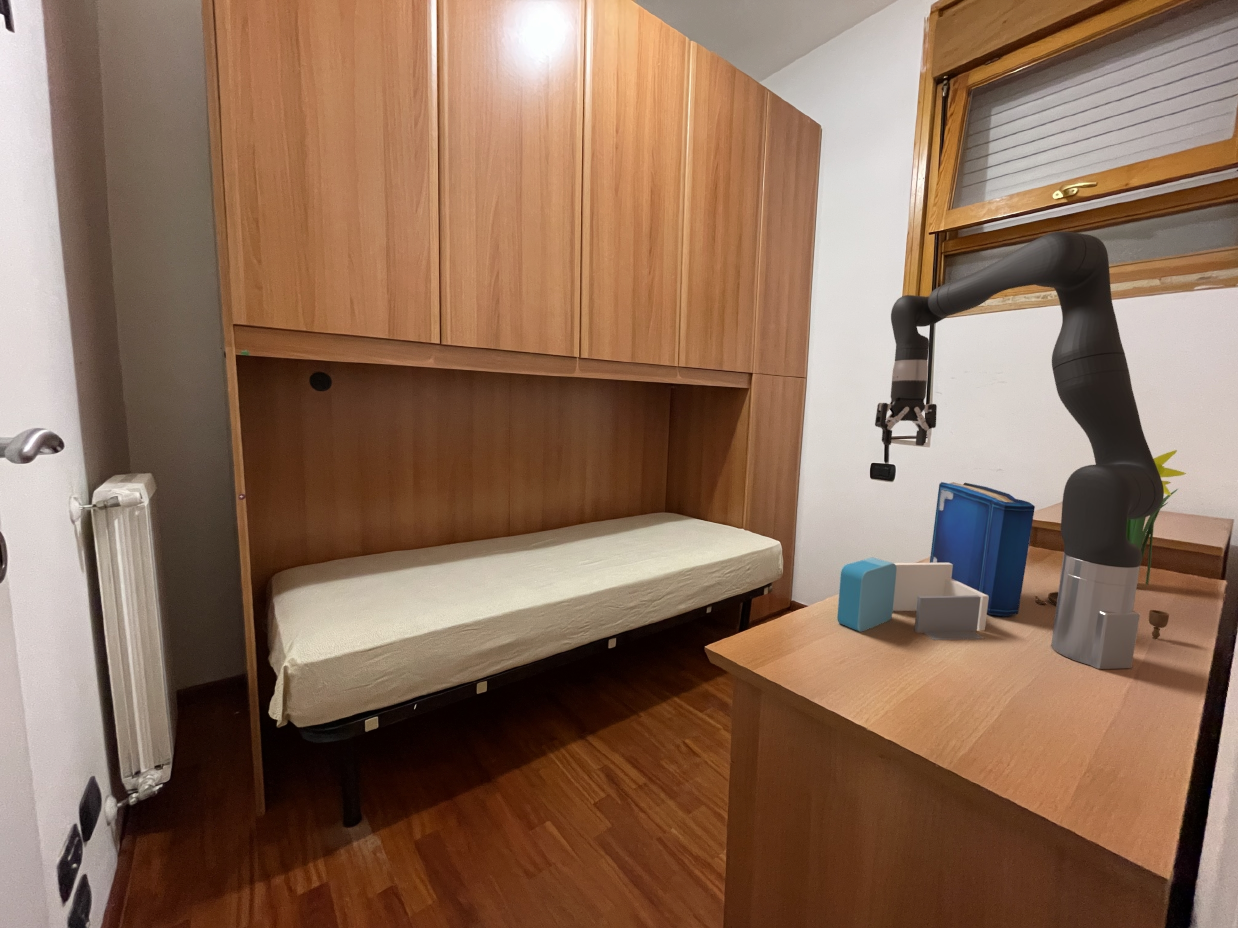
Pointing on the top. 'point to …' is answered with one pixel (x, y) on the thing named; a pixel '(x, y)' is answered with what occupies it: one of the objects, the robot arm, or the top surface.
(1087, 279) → the robot arm
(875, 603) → the data package
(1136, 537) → the daffodil flowers
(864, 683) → the top surface
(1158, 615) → the place setting
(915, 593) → the shelf nook
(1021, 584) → the book
